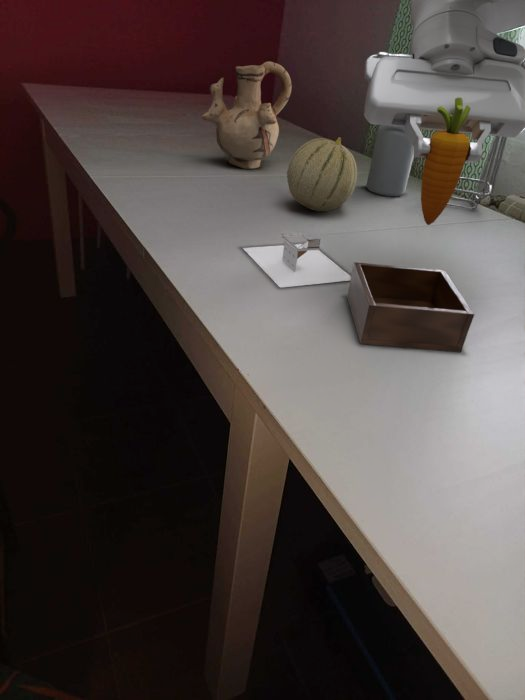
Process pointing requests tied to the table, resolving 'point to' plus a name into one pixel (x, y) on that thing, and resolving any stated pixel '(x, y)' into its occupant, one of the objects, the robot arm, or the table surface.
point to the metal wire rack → (496, 140)
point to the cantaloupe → (322, 174)
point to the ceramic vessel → (248, 115)
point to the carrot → (444, 163)
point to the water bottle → (390, 161)
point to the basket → (408, 308)
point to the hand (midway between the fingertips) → (447, 157)
